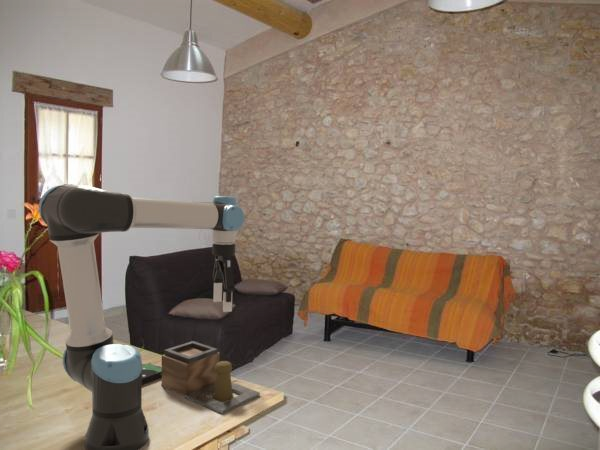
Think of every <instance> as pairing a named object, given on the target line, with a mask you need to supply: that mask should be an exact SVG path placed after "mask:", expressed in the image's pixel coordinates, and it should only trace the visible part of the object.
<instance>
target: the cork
mask: <svg viewBox="0 0 600 450" xmlns="http://www.w3.org/2000/svg"><path fill="white" fill-rule="evenodd" d="M232 370H233V364H232V363H231V362H230V361H227V360H221V361H220V362H218V363H217V364H216V366H215V371H216V373H217V376H216V382H215V389H214V393H213V397H212V399H214V400H217V401H219V402H226V401H228V400H230V399H233V398H234V396H233V395H234V394H233V393H234V392H232V384H231V382H232V378H231V373H232Z"/></svg>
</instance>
